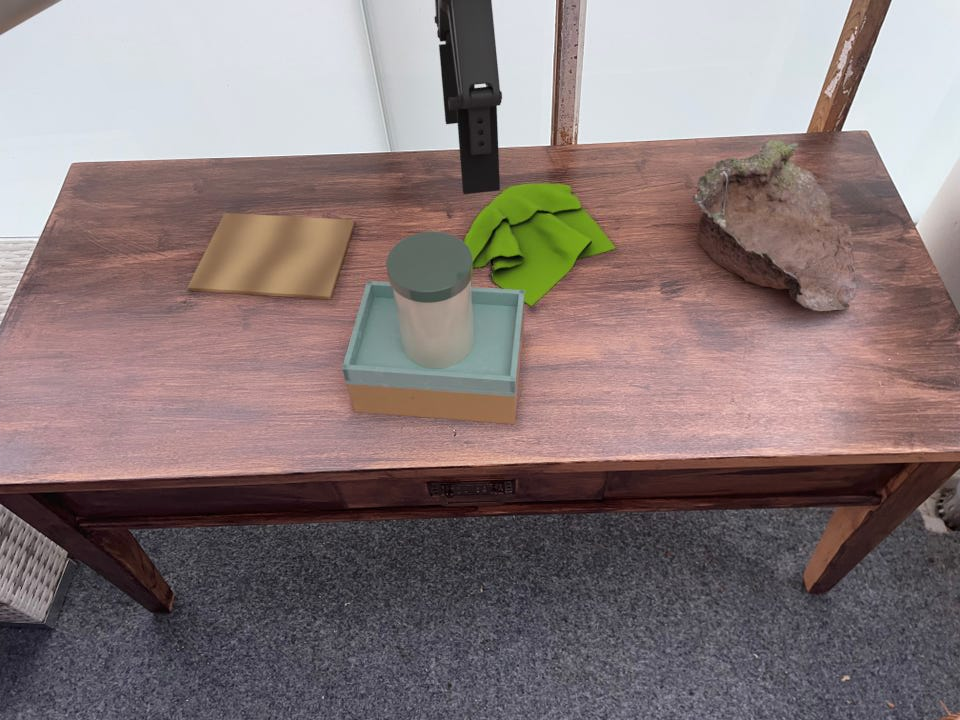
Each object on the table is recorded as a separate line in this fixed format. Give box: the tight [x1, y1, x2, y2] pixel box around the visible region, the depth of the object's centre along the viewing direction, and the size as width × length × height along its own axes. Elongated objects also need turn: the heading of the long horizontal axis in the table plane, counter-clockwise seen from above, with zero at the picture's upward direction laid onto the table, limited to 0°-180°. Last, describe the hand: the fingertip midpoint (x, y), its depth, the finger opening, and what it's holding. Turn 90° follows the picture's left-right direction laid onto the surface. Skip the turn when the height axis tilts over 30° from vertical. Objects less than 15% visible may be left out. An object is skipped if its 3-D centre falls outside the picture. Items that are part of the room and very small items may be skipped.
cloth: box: [462, 182, 617, 307], centre depth 92 cm, size 20×22×2 cm
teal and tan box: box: [341, 280, 525, 425], centre depth 77 cm, size 17×12×8 cm
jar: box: [385, 231, 474, 369], centre depth 71 cm, size 8×8×12 cm
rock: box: [692, 139, 858, 312], centre depth 87 cm, size 26×22×10 cm
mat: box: [187, 212, 356, 300], centre depth 92 cm, size 18×14×1 cm
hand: (470, 153), depth 59 cm, fingers open, 13 cm apart
